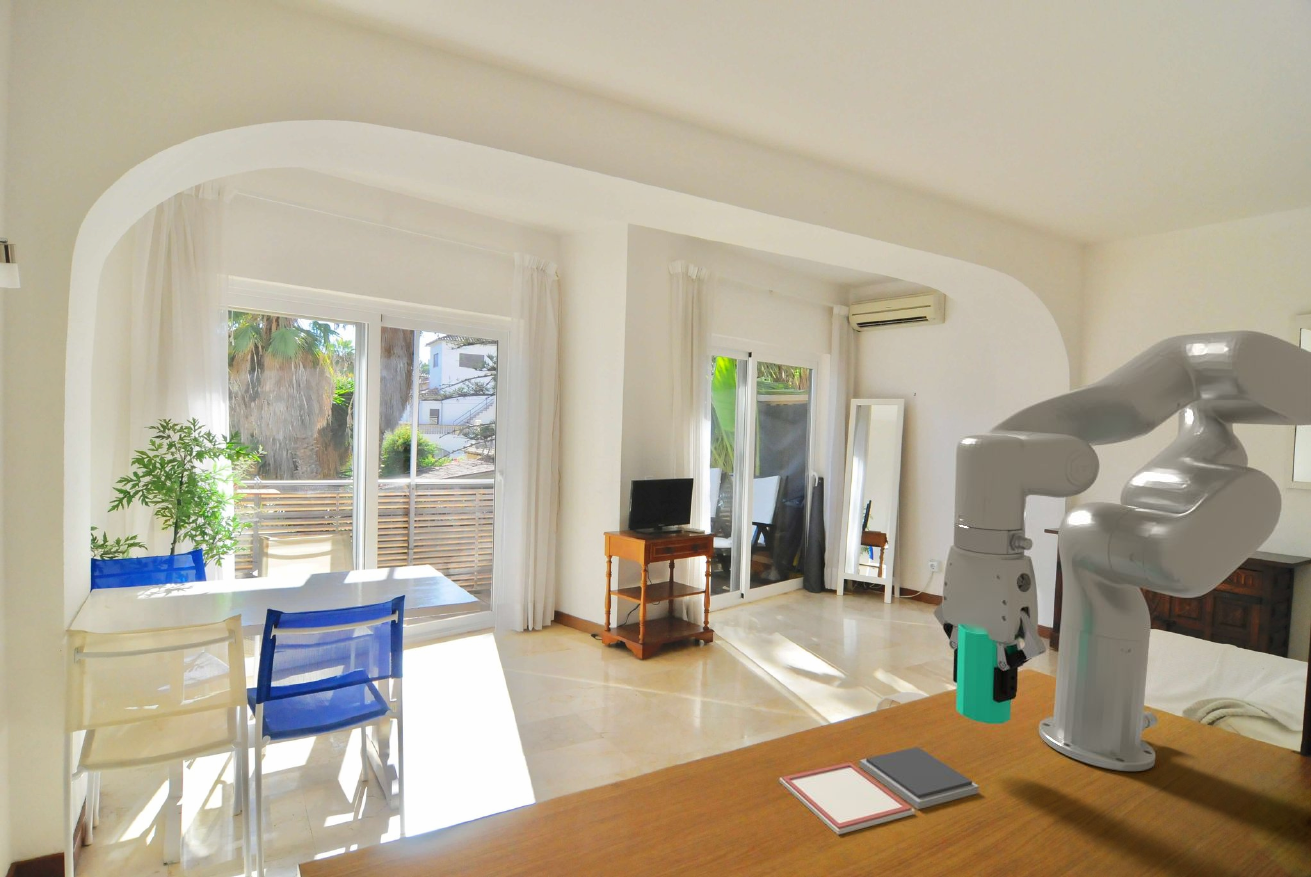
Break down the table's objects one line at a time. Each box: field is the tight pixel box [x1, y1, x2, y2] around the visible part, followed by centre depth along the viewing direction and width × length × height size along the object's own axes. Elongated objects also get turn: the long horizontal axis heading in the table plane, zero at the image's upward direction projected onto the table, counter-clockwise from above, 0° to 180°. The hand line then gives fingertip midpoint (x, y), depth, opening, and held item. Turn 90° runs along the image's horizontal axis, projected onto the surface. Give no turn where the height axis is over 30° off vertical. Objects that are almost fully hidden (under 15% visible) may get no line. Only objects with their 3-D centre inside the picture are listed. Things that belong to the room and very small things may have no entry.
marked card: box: [778, 761, 915, 836], centre depth 73 cm, size 10×10×1 cm
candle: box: [955, 625, 1012, 725], centre depth 81 cm, size 6×6×12 cm
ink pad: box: [859, 746, 980, 810], centre depth 78 cm, size 9×9×1 cm
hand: (983, 688), depth 81 cm, fingers closed on candle, 4 cm apart
